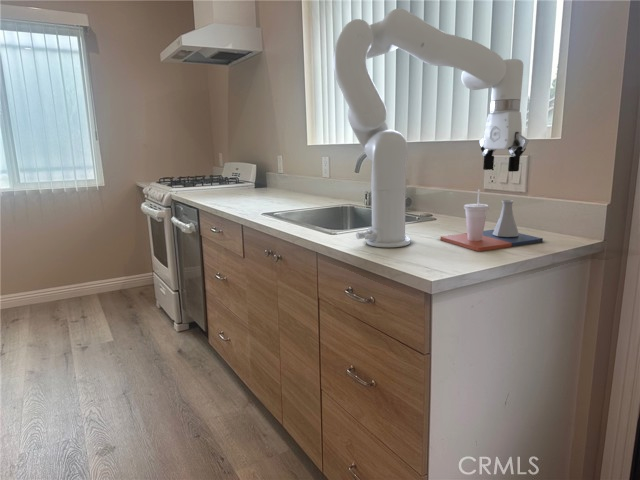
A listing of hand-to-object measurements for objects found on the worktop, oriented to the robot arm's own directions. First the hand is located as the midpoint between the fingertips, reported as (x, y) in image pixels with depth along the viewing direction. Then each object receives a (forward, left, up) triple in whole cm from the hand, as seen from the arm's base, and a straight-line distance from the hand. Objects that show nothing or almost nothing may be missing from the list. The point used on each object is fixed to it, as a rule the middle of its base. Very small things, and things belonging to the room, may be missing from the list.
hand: (500, 170), depth 123 cm
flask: (0, -3, -19) cm, 19 cm away
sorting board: (-5, -3, -19) cm, 20 cm away
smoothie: (-11, -3, -19) cm, 22 cm away
